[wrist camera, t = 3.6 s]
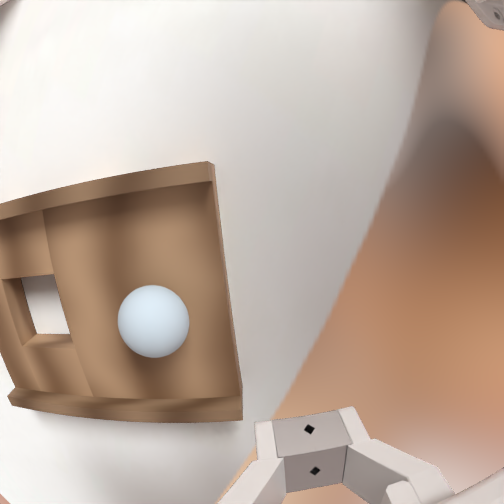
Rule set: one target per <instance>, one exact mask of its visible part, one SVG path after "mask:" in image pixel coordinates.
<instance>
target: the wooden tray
mask: <svg viewBox="0 0 504 504" xmlns="http://www.w3.org/2000/svg"><path fill="white" fill-rule="evenodd" d="M49 274H54V276H55V280H56V285H57V289H58V293H59V296H60V300H61V304H62V308H63V311H64V315H65V318H66V321H67V325H68V328H69V331H70V334H37V333H36V330H35V327H34V324H33V321H32V318H31V314H30V311H29V308H28V304H27V301H26V297H25V294H24V290H23V286H22V282H21V278H20V277H30V276H40V275H49ZM148 285H157V286H162V287H165V288H167V289H169V290H171V291H173V292H174V293H175V294H177V295H178V296H179V297H180V298H181V300H182V301H183V303H184V304H185V306H186V308H187V311H188V315H189V330H188V334H187V337H186V339H185V341H184V342H183V344H182V345H181V346H180V347H179V348H178V349H177V350H176V351H175V352H173V353H171V354H170V355H167V356H164V357H159V358H151V357H145V356H142V355H140V354H138V353H136V352H134V351H133V350H132V349H130V348H129V347H128V346H127V344H126V343H125V342H124V340H123V339H122V337H121V335H120V332H119V328H118V313H119V309H120V306H121V304H122V302H123V301H124V299H125V298H126V297H127V296H128V295H129V294H130V293H131V292H132V291H134V290H135V289H138V288H140V287H143V286H148ZM0 353H1V355H2V358H3V360H4V363H5V365H6V367H7V370H8V372H9V374H10V376H11V379H12V381H13V383H14V385H15V388H14V389H13V390H12V392H11V393H10V394H9V395H8V396H7V397H8V399H9V401H10V402H11V404H12V405H13V406H17V407H22V408H27V409H32V410H37V411H43V412H49V413H55V414H61V415H68V416H76V417H84V418H93V419H104V420H116V421H131V422H157V423H197V422H223V421H238V420H243V402H242V381H241V374H240V367H239V361H238V354H237V347H236V340H235V332H234V325H233V318H232V310H231V303H230V295H229V288H228V280H227V272H226V264H225V256H224V248H223V239H222V231H221V222H220V214H219V205H218V196H217V187H216V178H215V168H214V165H213V164H212V163H210V162H208V161H205V162H198V163H190V164H183V165H176V166H170V167H163V168H157V169H151V170H145V171H139V172H134V173H128V174H123V175H117V176H112V177H107V178H102V179H97V180H93V181H88V182H83V183H79V184H74V185H70V186H66V187H61V188H57V189H53V190H49V191H45V192H41V193H37V194H33V195H30V196H26V197H22V198H19V199H15V200H12V201H8V202H5V203H1V204H0Z"/></svg>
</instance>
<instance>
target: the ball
mask: <svg viewBox="0 0 504 504" xmlns="http://www.w3.org/2000/svg"><path fill="white" fill-rule="evenodd" d="M118 328H119V332H120V335H121V337H122V339H123V340H124V342H125V343H126V344H127V346H128V347H129V348H130V349H132V350H133V351H134V352H136V353H138V354H140V355H142V356H145V357H151V358H159V357H164V356H167V355H170V354H171V353H173V352H175V351H176V350H177V349H178V348H179V347H180V346H181V345H182V344H183V342H184V341H185V339H186V337H187V334H188V330H189V315H188V311H187V308H186V306H185V304H184V303H183V301H182V300H181V298H180V297H179V296H178V295H177V294H175V293H174V292H173V291H171V290H169V289H167V288H165V287H162V286H157V285H148V286H143V287H140V288H138V289H135V290H134V291H132V292H131V293H130V294H129V295H128V296H127V297H126V298H125V299H124V301H123V302H122V304H121V306H120V309H119V313H118Z"/></svg>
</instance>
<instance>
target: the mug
mask: <svg viewBox="0 0 504 504" xmlns="http://www.w3.org/2000/svg"><path fill="white" fill-rule="evenodd" d="M8 1H9V0H0V6H1V5H3V4H5V3H6V2H8Z"/></svg>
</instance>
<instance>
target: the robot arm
mask: <svg viewBox="0 0 504 504" xmlns="http://www.w3.org/2000/svg"><path fill="white" fill-rule="evenodd" d="M465 1H466V2H467V3H468V5H469V6H470V7H471V9H472V10H473V11H474V12H475V14H476V15H477V16H478V17H479V19H480V20H481V21H482V22H483V23H484V24H485V25H486V26H487V27H489V28H492V29H499V30H504V0H465ZM254 427H255V439H256V450H257V460H256V461H252V462H251V463H250V464H249V466H248V467H247V468H246V470H245V471H244V472H243V473H242V474H241V476H240V477H239V478H238V479H237V481H236V482H235V483H234V484H233V485H232V487H231V488H230V489H229V490H228V491H227V493H226V494H225V495H224V496H223V497H222V498H221V500H220V501H219V502H218V503H217V504H281V503H282V501H283V499H284V498H285V495H286V493H289V492H294V491H300V490H306V489H311V488H316V487H322V486H328V485H333V484H338V483H343V485H345V486H346V487H347V488H349V489H350V490H351V491H353V492H354V493H355V494H357V495H358V496H359V497H361V498H362V499H363V500H365V501H366V502H368V503H369V504H504V467H503V468H502V469H500V470H499V471H497V472H496V473H494V474H492V475H490V476H489V477H487V478H485V479H484V480H482V481H480V482H478V483H477V484H475V485H473V486H471V487H469V488H467V489H465V490H463V491H461V492H460V493H457V494H455V493H454V492H453V490H452V488H451V487H450V485H449V484H448V482H447V481H446V479H445V478H444V476H443V475H442V473H441V471H440V470H439V468H438V467H437V466H435V465H433V464H430V463H428V462H426V461H423V460H421V459H419V458H417V457H414V456H412V455H410V454H407V453H405V452H403V451H401V450H399V449H397V448H394V447H392V446H390V445H388V444H386V443H384V442H382V441H380V440H377V439H372V440H371V439H370V437H369V435H368V433H367V431H366V429H365V427H364V425H363V423H362V421H361V419H360V417H359V415H358V413H357V411H356V410H355V408H354V407H353V406H350V407H346V408H342V409H337V410H333V411H329V412H323V413H318V414H312V415H307V416H301V417H293V418H285V419H276V420H272V421H271V420H270V421H258V422H255V424H254Z"/></svg>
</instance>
